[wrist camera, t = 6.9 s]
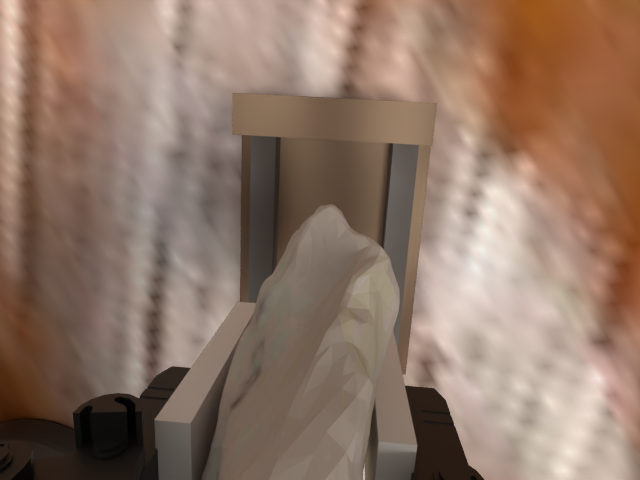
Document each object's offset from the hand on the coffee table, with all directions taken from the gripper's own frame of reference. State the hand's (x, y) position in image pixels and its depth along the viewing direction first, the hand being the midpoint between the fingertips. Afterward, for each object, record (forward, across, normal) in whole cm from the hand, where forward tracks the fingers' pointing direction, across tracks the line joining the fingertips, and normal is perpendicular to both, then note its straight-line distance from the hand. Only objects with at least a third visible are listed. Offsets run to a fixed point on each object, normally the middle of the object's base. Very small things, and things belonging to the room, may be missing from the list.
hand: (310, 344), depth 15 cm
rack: (+15, 0, 0) cm, 15 cm away
